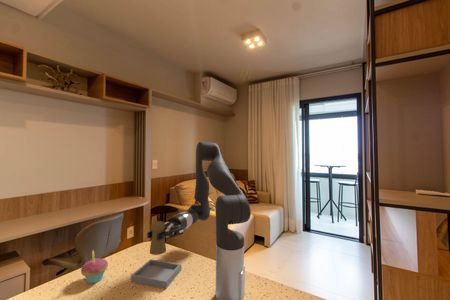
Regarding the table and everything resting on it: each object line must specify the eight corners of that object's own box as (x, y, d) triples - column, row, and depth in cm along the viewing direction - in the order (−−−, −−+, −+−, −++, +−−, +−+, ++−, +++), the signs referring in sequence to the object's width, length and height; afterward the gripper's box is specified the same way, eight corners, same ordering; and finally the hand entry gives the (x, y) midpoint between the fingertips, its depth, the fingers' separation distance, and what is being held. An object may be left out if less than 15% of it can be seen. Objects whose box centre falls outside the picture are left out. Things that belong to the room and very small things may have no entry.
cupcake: (103, 284, 76) (104, 251, 76) (76, 288, 74) (76, 253, 74) (110, 271, 84) (110, 240, 84) (85, 274, 82) (86, 243, 82)
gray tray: (181, 270, 86) (181, 263, 86) (166, 289, 74) (166, 281, 74) (150, 265, 89) (150, 259, 89) (131, 282, 77) (131, 275, 77)
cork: (161, 255, 78) (161, 225, 78) (146, 253, 79) (146, 224, 79) (168, 248, 84) (169, 220, 84) (154, 246, 85) (155, 219, 85)
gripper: (167, 211, 98) (138, 223, 82) (194, 215, 92) (168, 229, 76) (167, 227, 98) (138, 243, 82) (194, 233, 92) (168, 250, 76)
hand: (152, 236), depth 79 cm, fingers closed on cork, 4 cm apart
